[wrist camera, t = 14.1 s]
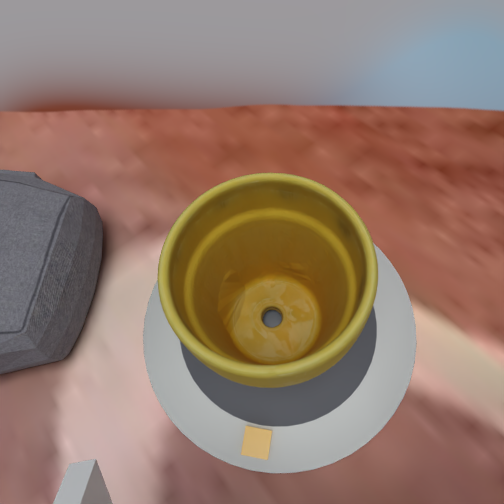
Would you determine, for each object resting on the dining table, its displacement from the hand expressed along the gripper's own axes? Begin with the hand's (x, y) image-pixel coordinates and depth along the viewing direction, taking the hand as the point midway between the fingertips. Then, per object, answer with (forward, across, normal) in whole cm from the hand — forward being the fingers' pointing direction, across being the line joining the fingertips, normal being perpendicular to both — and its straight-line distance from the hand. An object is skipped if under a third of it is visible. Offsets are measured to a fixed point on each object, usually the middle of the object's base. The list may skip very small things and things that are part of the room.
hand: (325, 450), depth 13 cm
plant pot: (+16, 0, -4) cm, 16 cm away
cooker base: (+17, 0, -5) cm, 18 cm away
